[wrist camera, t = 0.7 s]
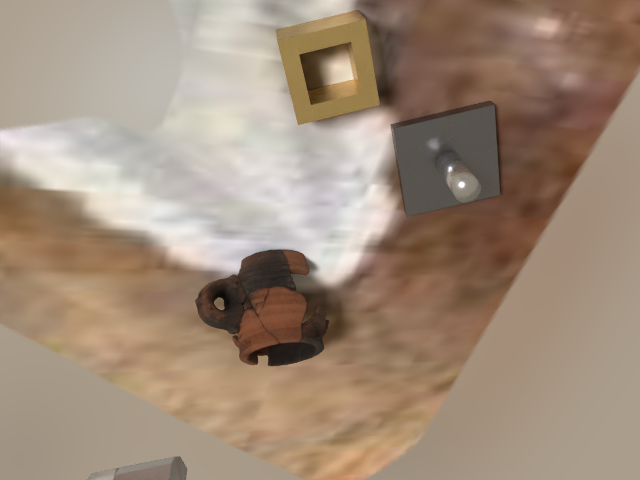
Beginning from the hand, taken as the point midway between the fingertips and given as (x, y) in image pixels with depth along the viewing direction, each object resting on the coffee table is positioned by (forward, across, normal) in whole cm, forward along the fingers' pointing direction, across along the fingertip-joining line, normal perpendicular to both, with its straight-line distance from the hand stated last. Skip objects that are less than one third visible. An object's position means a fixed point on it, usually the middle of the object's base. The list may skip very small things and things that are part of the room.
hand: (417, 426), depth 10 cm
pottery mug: (+38, +8, +22) cm, 44 cm away
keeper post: (+37, -9, +13) cm, 40 cm away
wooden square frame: (+37, -1, +3) cm, 37 cm away
